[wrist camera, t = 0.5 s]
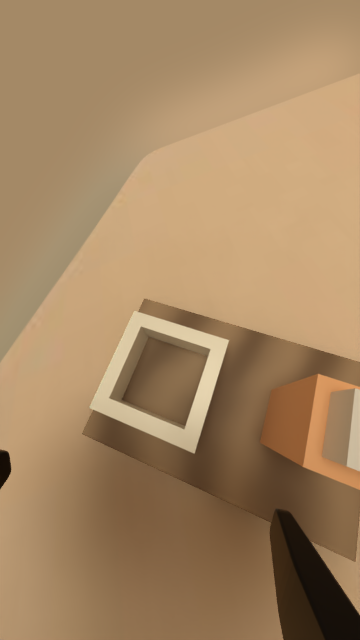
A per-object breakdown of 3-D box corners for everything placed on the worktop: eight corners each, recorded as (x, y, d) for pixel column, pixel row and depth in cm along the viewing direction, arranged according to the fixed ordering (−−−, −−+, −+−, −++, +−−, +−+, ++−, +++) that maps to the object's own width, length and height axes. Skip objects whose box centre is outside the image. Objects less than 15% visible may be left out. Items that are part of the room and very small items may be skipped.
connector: (325, 408, 19) (460, 403, 9) (317, 465, 18) (466, 536, 8) (271, 389, 20) (339, 366, 10) (259, 442, 19) (323, 479, 9)
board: (363, 368, 21) (372, 365, 20) (345, 551, 17) (355, 561, 16) (146, 303, 26) (144, 298, 25) (88, 432, 21) (82, 433, 20)
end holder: (226, 349, 22) (228, 340, 19) (196, 447, 19) (194, 453, 16) (142, 322, 24) (134, 310, 21) (104, 408, 21) (89, 407, 18)
